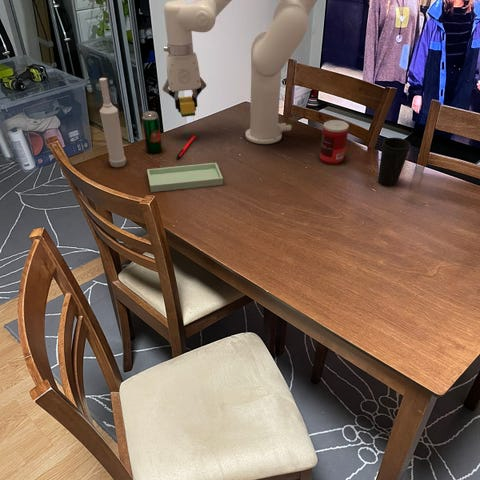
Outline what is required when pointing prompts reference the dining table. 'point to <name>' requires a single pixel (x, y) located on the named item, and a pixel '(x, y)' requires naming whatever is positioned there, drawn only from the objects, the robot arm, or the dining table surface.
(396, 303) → the dining table surface
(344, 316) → the dining table surface
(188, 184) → the tray
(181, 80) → the robot arm
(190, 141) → the pen
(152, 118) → the soda can
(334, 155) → the canned food
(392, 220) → the dining table surface
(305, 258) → the dining table surface
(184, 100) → the sponge
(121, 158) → the bottle
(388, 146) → the cup
